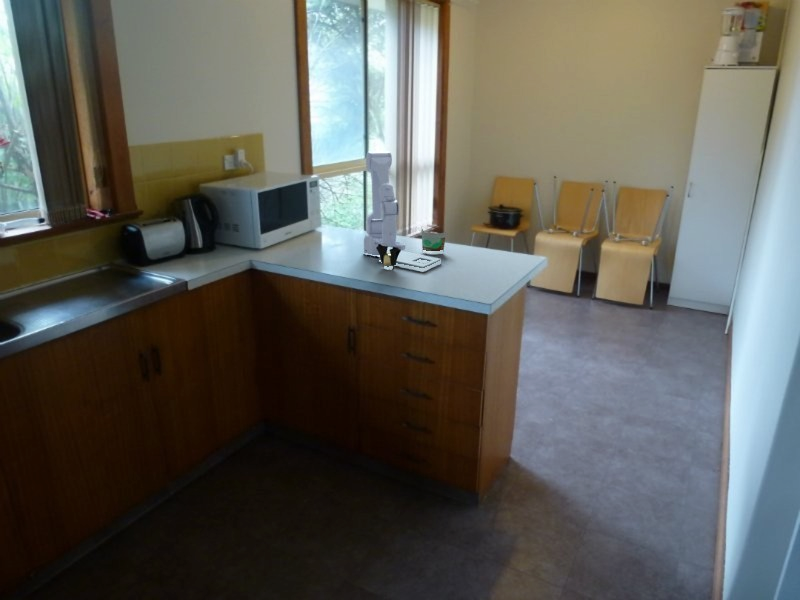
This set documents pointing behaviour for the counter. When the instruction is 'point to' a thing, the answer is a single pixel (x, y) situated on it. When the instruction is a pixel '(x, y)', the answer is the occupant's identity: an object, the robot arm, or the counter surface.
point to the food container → (433, 240)
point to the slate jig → (415, 259)
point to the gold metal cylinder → (387, 259)
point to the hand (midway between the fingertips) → (388, 264)
